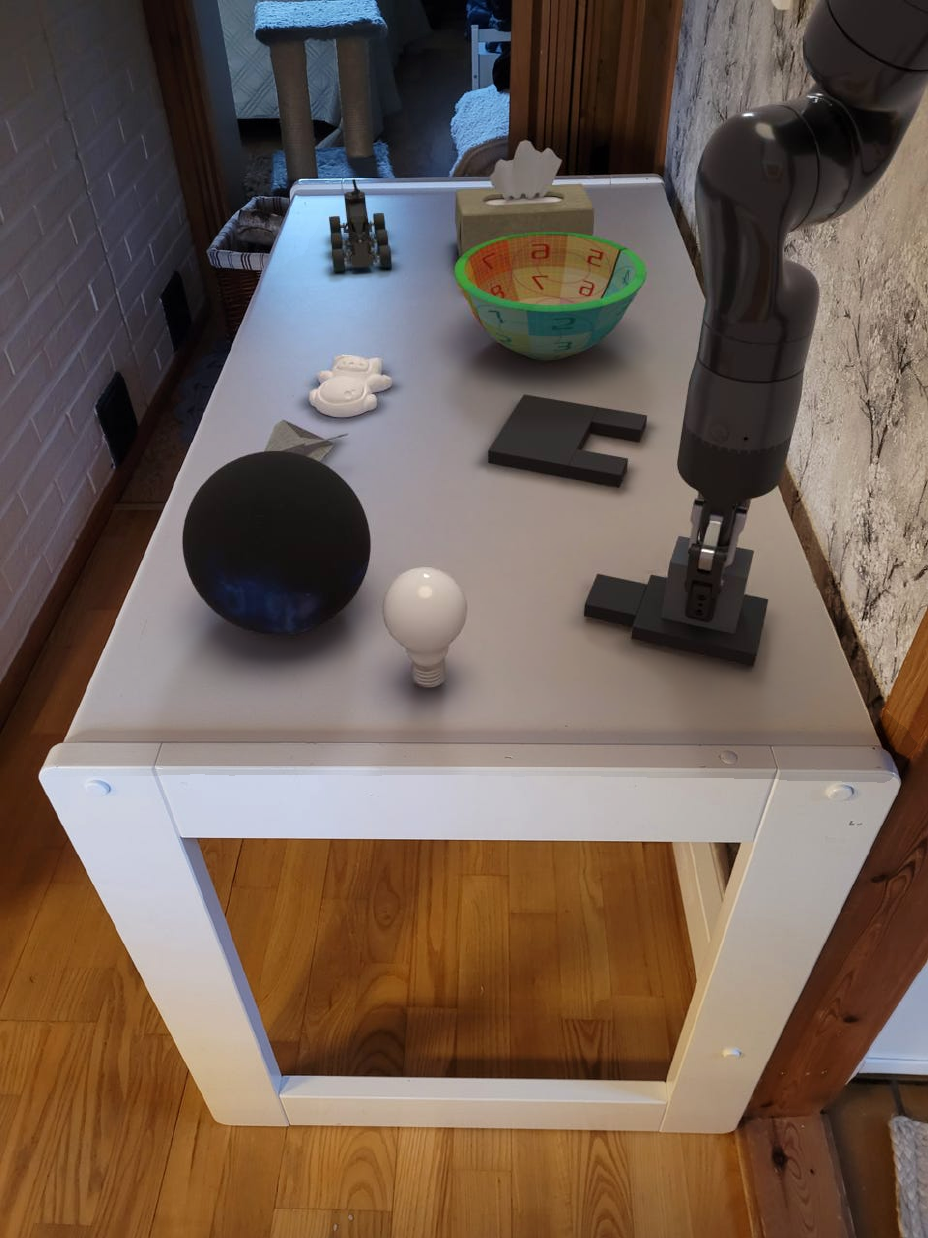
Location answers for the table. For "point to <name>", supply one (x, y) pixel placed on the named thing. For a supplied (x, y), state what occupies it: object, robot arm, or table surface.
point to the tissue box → (522, 201)
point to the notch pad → (564, 439)
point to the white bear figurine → (349, 386)
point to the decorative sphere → (276, 542)
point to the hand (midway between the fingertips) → (703, 600)
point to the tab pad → (671, 633)
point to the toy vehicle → (359, 235)
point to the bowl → (549, 290)
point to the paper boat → (298, 441)
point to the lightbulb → (425, 619)
